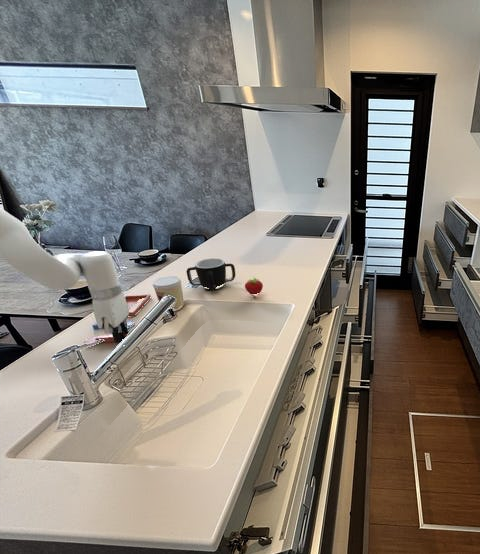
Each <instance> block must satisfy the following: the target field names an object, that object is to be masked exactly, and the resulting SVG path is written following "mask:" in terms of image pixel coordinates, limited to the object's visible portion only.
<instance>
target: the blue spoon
mask: <svg viewBox="0 0 480 554" xmlns="http://www.w3.org/2000/svg"><path fill="white" fill-rule="evenodd" d="M126 322H127V327H130V326H132V325H133V324H135V321H126ZM91 326H92V329H93V330H95V331H97V330H105V328H104V327H103V328H101V329H100V328H99V327H98V325H97V322H94V323H93V324H92V325H91ZM113 328H114V327H113ZM115 328H116V327H115Z"/></svg>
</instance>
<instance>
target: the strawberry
mask: <svg viewBox="0 0 480 554" xmlns="http://www.w3.org/2000/svg"><path fill="white" fill-rule="evenodd" d="M244 288H245V291H246V292H247V293H248V294H249V295H251V294H257V293H259V294H260V293H261V292H262V290H263V288H264V285H263V282H262V281H261V280H259V279H258V278H257V277H253V279H248V280H247V281H246V282H245V284H244Z"/></svg>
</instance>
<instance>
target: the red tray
mask: <svg viewBox="0 0 480 554" xmlns="http://www.w3.org/2000/svg"><path fill="white" fill-rule="evenodd" d="M124 297H125V299H126V302H127V305H128V308H129V310H130V309H131V307H133V306H135V304H137V303H138V302H137V301H138V300H139V299H142V298H145V299H144V300H143V301H142V302H141V303H140V304H139V305H138V306H137V308H136V309H135V310H134V311H133V312H129V314H128V316H135V314H136V313H137V312H138V311H139V310H140V309H141V308H142V306H144V304H145V303H146V302H147V301H148V300H149V299H150V297H151V298H152V296H151V294H134V295H133V294H132V295H124ZM150 300H151V299H150ZM133 304H134V305H133ZM144 307H145V306H144ZM142 310H143V308H142V309H141V311H142ZM128 316H127V318H129V317H128ZM135 317H136V316H135ZM127 318H126V319H127Z"/></svg>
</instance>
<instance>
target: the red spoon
mask: <svg viewBox="0 0 480 554" xmlns="http://www.w3.org/2000/svg"><path fill="white" fill-rule="evenodd" d="M126 336H127V334H125V337H126ZM99 339H104V340H105V341H103V342H102V343H112V342H114V343H115V341H114V338H113V335H112V334H105V335H104V334H103V335H96V336H92V337H89V338H87V339H85V340H84V342H83V343H84V344H85V343H90V342H93V341H96V340H99Z"/></svg>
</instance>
